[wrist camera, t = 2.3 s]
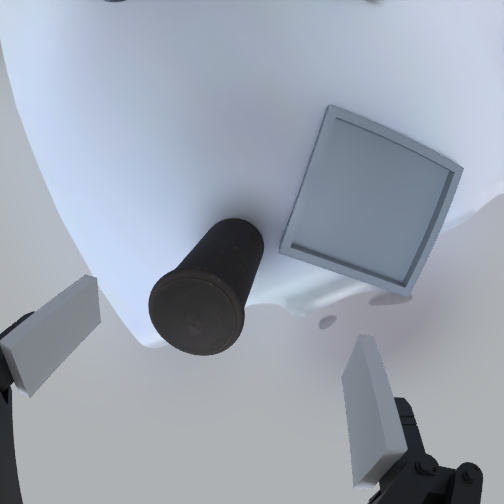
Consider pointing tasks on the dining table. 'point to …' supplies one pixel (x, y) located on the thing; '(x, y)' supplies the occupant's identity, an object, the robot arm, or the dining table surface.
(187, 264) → the container
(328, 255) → the tray
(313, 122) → the dining table surface
